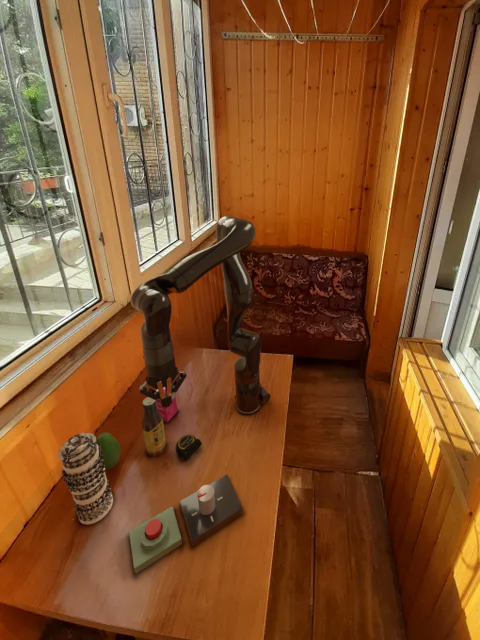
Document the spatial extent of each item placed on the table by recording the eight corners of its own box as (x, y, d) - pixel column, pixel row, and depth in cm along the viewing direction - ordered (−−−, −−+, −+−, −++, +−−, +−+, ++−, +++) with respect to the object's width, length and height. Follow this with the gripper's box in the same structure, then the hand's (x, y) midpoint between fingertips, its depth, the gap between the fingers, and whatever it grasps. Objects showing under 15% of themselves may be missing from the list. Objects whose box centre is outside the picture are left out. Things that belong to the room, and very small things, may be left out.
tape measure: (186, 464, 99) (185, 456, 97) (172, 453, 102) (171, 445, 101) (202, 448, 104) (201, 439, 103) (188, 437, 108) (187, 429, 106)
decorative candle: (119, 507, 87) (102, 441, 78) (81, 534, 81) (59, 467, 72) (108, 483, 93) (92, 420, 84) (72, 507, 87) (50, 442, 78)
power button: (160, 520, 81) (159, 515, 80) (163, 533, 78) (162, 529, 78) (145, 528, 79) (144, 524, 79) (147, 543, 76) (146, 538, 76)
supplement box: (155, 418, 115) (150, 394, 111) (166, 406, 120) (162, 383, 116) (167, 423, 113) (163, 399, 109) (178, 411, 118) (175, 387, 114)
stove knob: (212, 494, 88) (211, 480, 86) (217, 509, 84) (216, 495, 82) (197, 503, 86) (195, 488, 84) (201, 518, 82) (199, 504, 80)
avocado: (119, 448, 104) (113, 421, 100) (125, 466, 98) (119, 438, 94) (92, 463, 99) (84, 435, 95) (96, 482, 93) (88, 454, 89)
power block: (173, 511, 86) (171, 501, 85) (182, 544, 79) (180, 534, 78) (130, 536, 81) (127, 526, 79) (135, 574, 74) (132, 564, 72)
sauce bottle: (159, 458, 100) (151, 411, 94) (142, 455, 102) (132, 408, 95) (170, 441, 106) (163, 395, 100) (154, 437, 108) (146, 392, 101)
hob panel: (227, 479, 94) (227, 473, 94) (242, 513, 86) (242, 507, 85) (180, 506, 87) (179, 500, 86) (192, 547, 79) (191, 540, 78)
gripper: (134, 372, 77) (144, 425, 83) (187, 354, 84) (193, 404, 90) (130, 356, 83) (140, 406, 89) (180, 340, 90) (186, 388, 96)
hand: (167, 405), depth 90 cm, fingers closed
